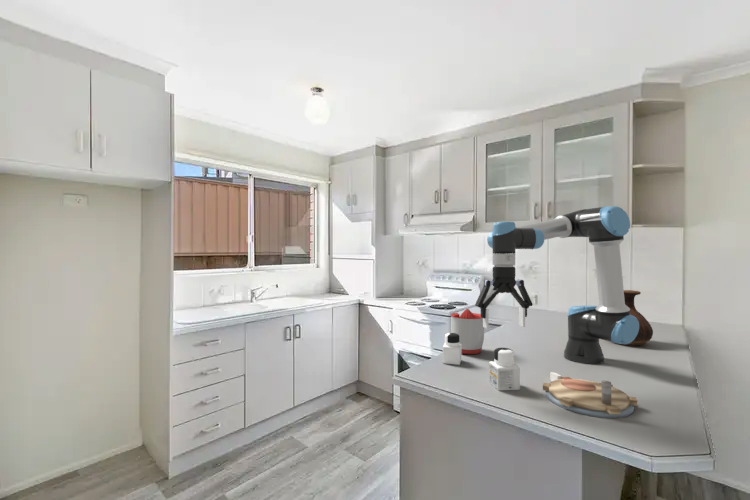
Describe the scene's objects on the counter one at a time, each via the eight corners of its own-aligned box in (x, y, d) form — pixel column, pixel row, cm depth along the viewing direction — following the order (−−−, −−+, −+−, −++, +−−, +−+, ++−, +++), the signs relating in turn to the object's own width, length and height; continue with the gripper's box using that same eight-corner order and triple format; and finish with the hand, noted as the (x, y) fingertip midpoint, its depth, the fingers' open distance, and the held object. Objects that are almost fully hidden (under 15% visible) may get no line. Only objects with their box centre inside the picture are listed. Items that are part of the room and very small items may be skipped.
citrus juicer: (477, 345, 179) (477, 305, 179) (489, 356, 161) (489, 311, 161) (446, 346, 178) (446, 305, 178) (455, 356, 161) (454, 311, 161)
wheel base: (521, 382, 129) (521, 374, 129) (582, 378, 133) (582, 370, 133) (580, 420, 100) (580, 409, 100) (655, 414, 104) (655, 404, 104)
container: (489, 382, 129) (488, 346, 129) (509, 381, 130) (509, 345, 130) (498, 390, 121) (498, 352, 121) (520, 390, 122) (520, 351, 122)
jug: (650, 340, 187) (650, 283, 187) (655, 350, 169) (655, 286, 169) (600, 335, 199) (600, 281, 199) (600, 344, 180) (600, 284, 180)
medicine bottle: (461, 360, 155) (461, 332, 155) (459, 365, 148) (459, 336, 148) (444, 358, 157) (444, 331, 157) (442, 363, 151) (442, 334, 151)
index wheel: (656, 413, 101) (656, 386, 101) (574, 414, 101) (574, 387, 101) (597, 380, 127) (597, 359, 127) (532, 381, 126) (531, 359, 126)
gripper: (474, 266, 120) (474, 330, 120) (543, 266, 124) (543, 327, 124) (465, 265, 127) (465, 325, 127) (530, 265, 131) (530, 323, 131)
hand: (504, 327), depth 125 cm, fingers open, 13 cm apart
